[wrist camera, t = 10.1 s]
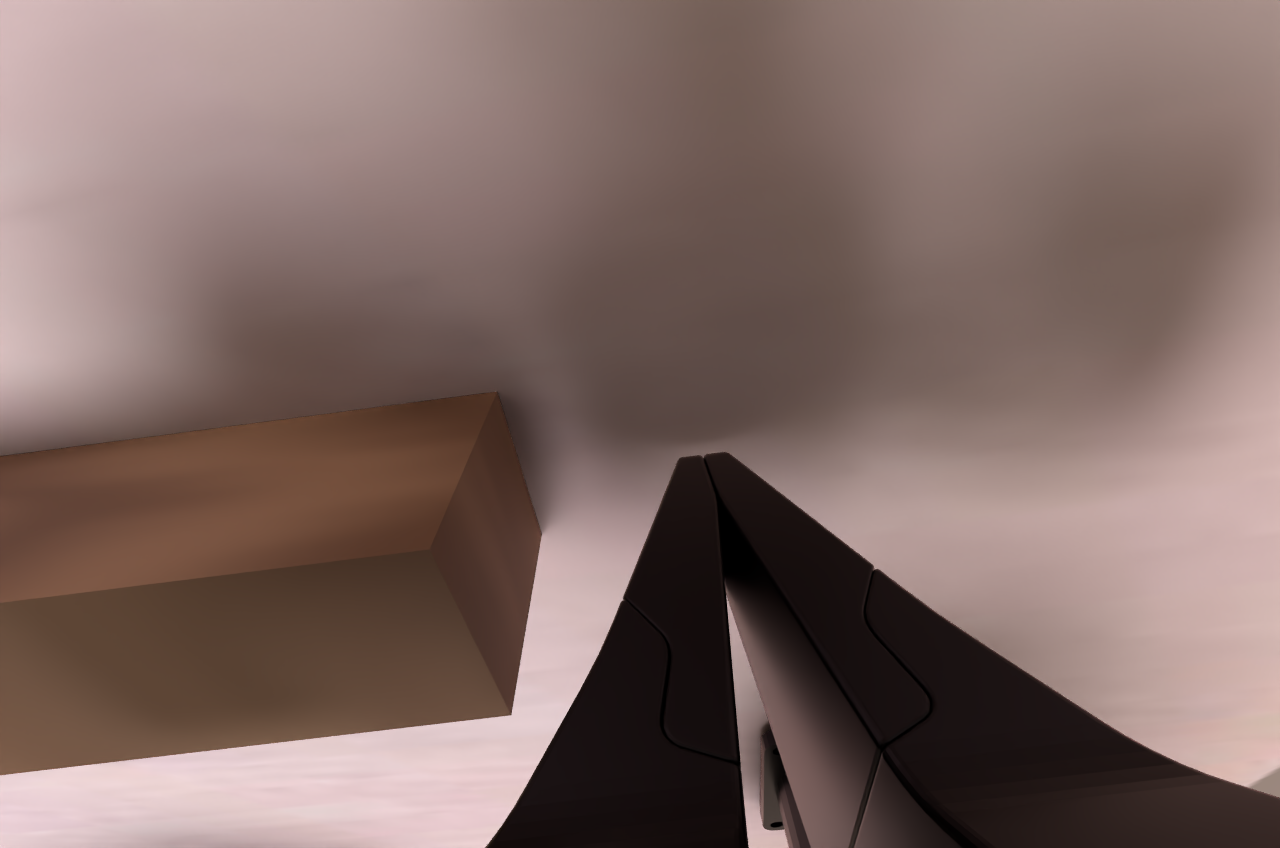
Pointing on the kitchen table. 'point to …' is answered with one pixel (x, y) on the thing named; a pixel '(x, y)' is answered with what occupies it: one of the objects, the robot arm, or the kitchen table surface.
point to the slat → (262, 583)
